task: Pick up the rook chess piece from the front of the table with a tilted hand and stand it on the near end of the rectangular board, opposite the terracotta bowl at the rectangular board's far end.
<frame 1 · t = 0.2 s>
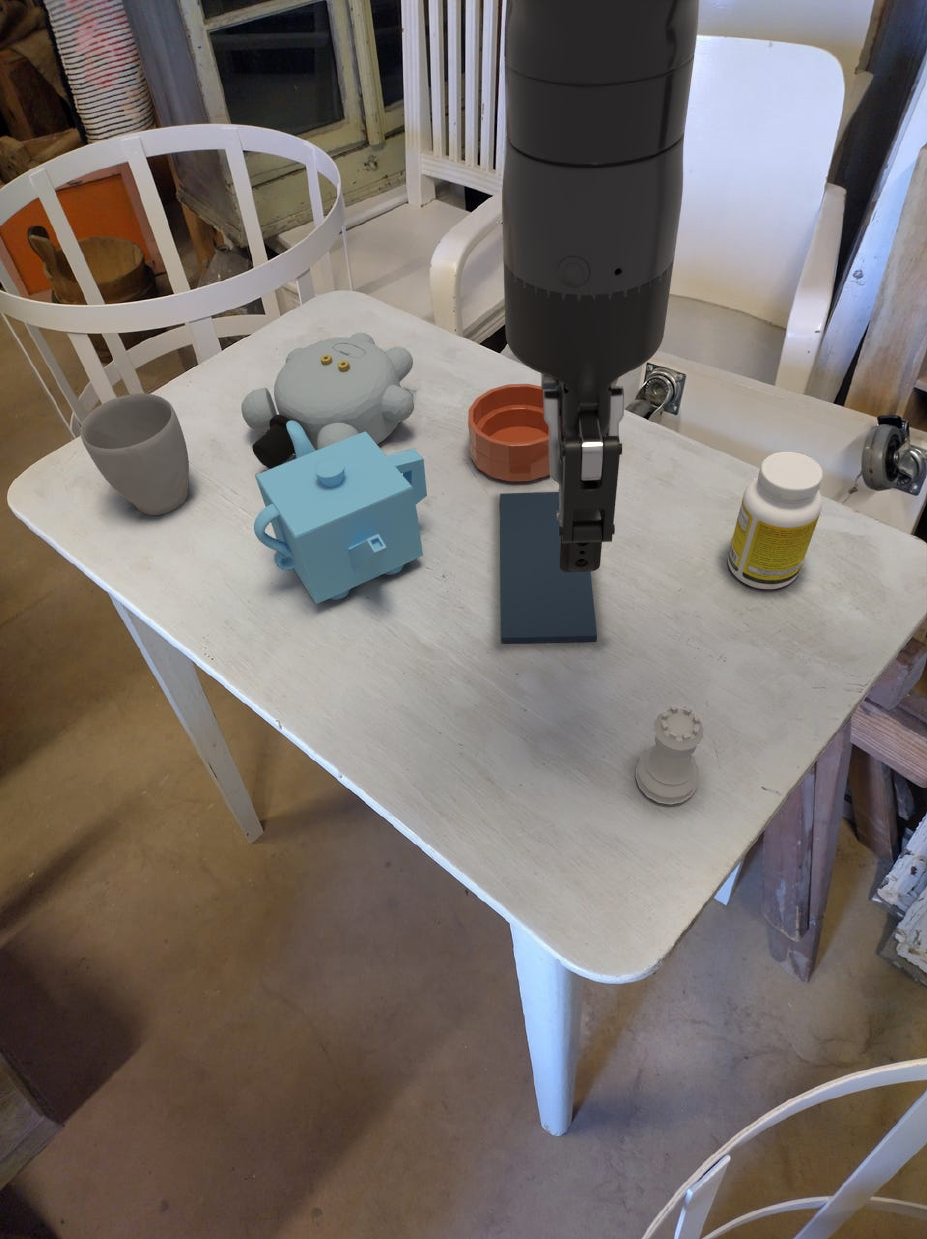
hand: (574, 514, 48), 21 cm above the table, tool pointing down, fingers open, 8 cm apart
bowl: (519, 453, 85), on the table
mug: (154, 492, 85), on the table
pill bottle: (761, 567, 73), on the table
figurine: (335, 431, 89), on the table
teapot: (352, 555, 77), on the table
rectangular board: (544, 564, 74), on the table
rook chess piece: (665, 781, 60), on the table
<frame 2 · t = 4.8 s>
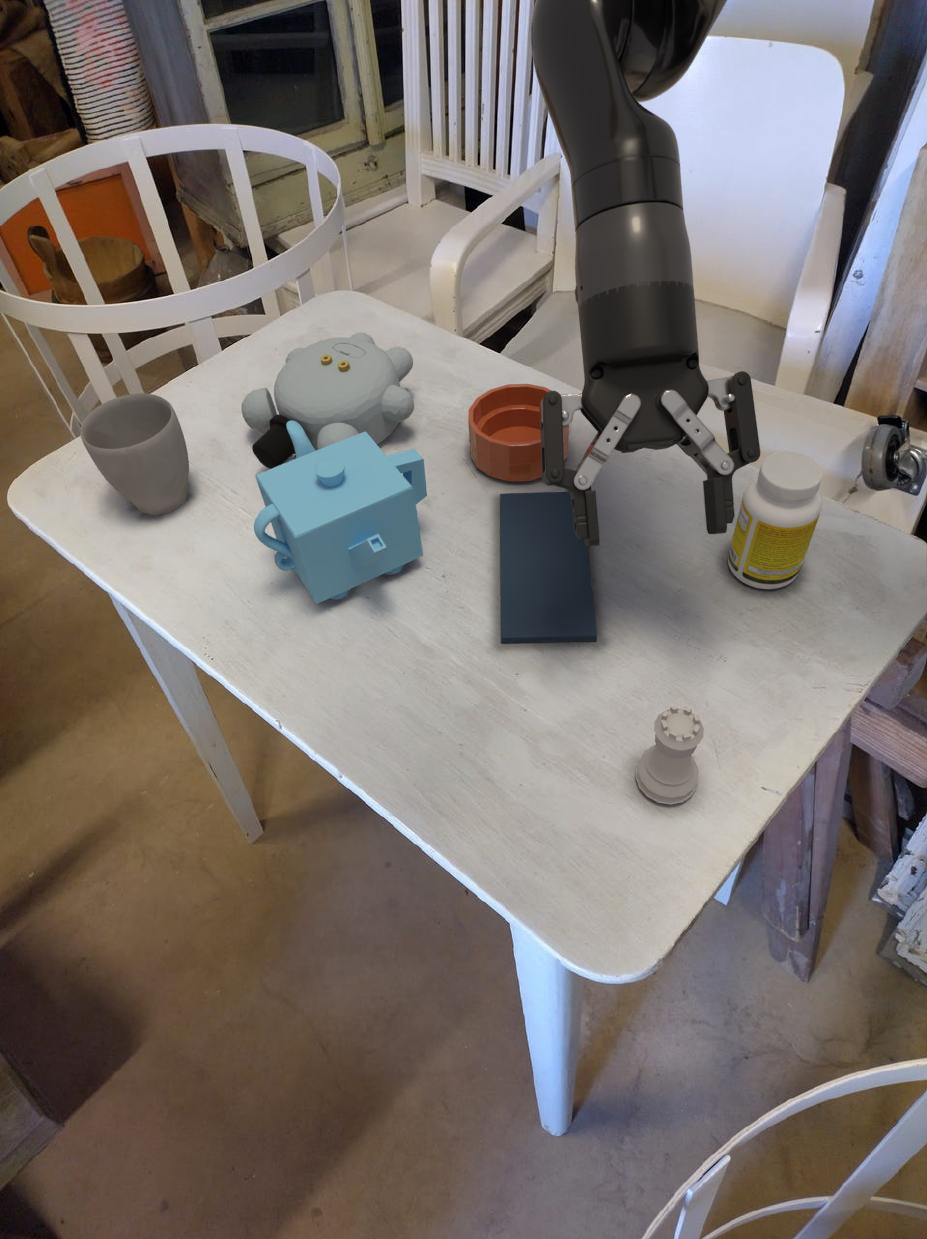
hand: (655, 540, 55), 15 cm above the table, tool tilted 45°, fingers open, 8 cm apart
nothing on the table moved.
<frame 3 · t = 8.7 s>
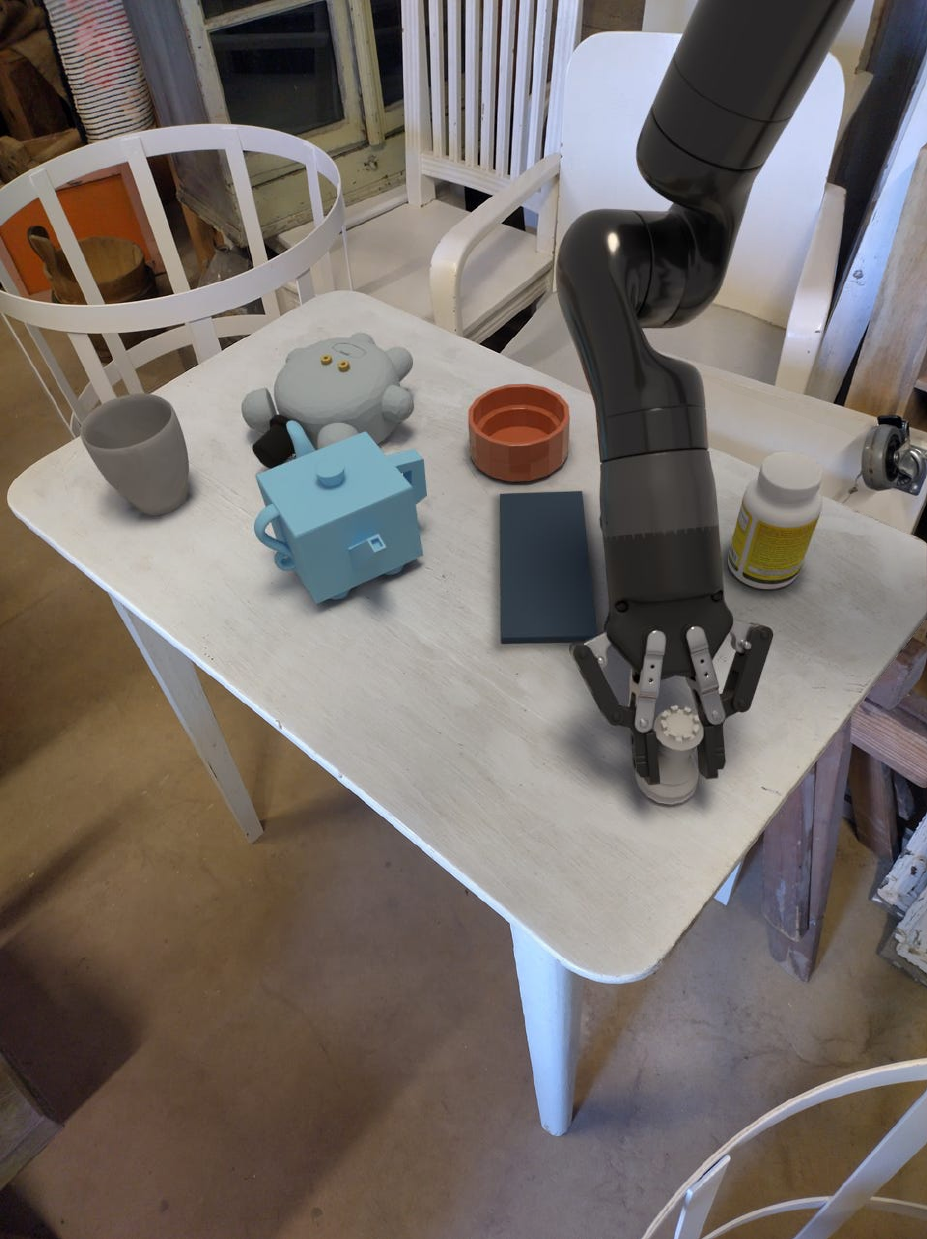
hand: (680, 777, 56), 4 cm above the table, tool tilted 45°, fingers closed on rook chess piece, 3 cm apart
rook chess piece: (665, 781, 60), on the table, touching gripper
everything else where it was.
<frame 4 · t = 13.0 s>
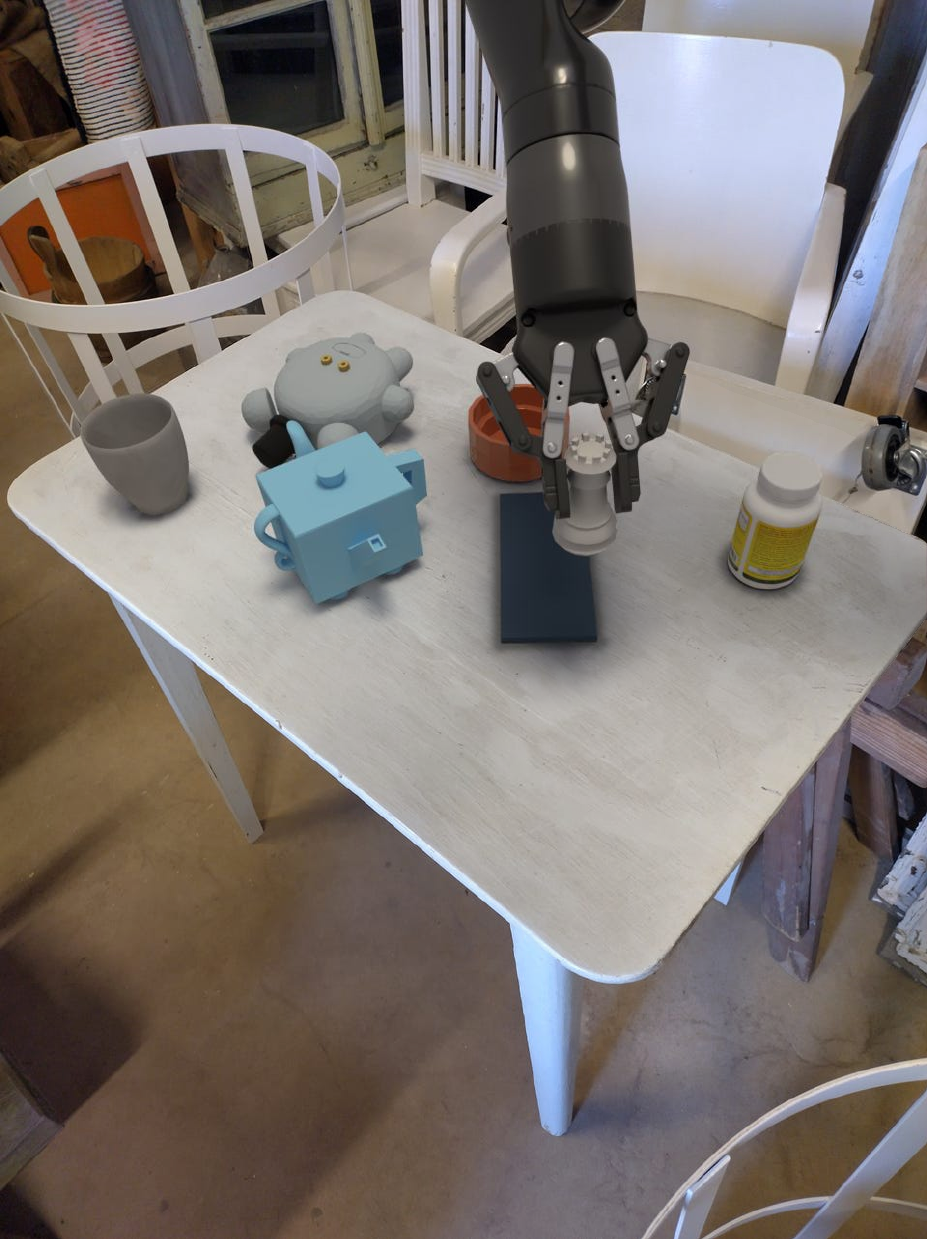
hand: (593, 514, 52), 18 cm above the table, tool tilted 45°, fingers closed on rook chess piece, 3 cm apart
rook chess piece: (584, 538, 57), point 14 cm above the table, touching gripper
everything else where it was.
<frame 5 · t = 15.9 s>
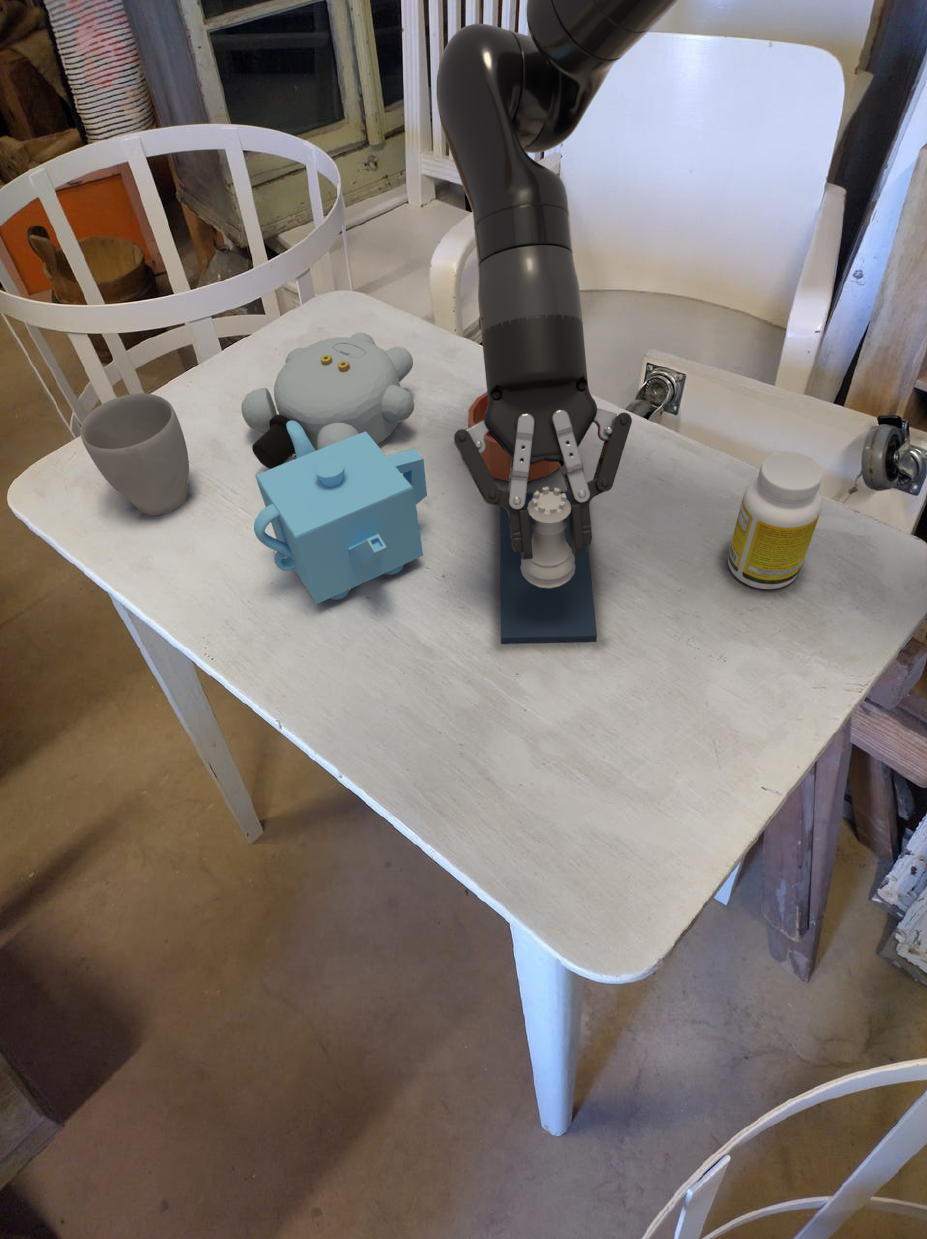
hand: (553, 555, 62), 9 cm above the table, tool tilted 45°, fingers closed on rook chess piece, 3 cm apart
rook chess piece: (547, 572, 67), point 5 cm above the table, touching gripper
everything else where it was.
when the fingers open (5 cm above the table, at t = 17.6 s): rook chess piece stays where it is, resting on rectangular board.
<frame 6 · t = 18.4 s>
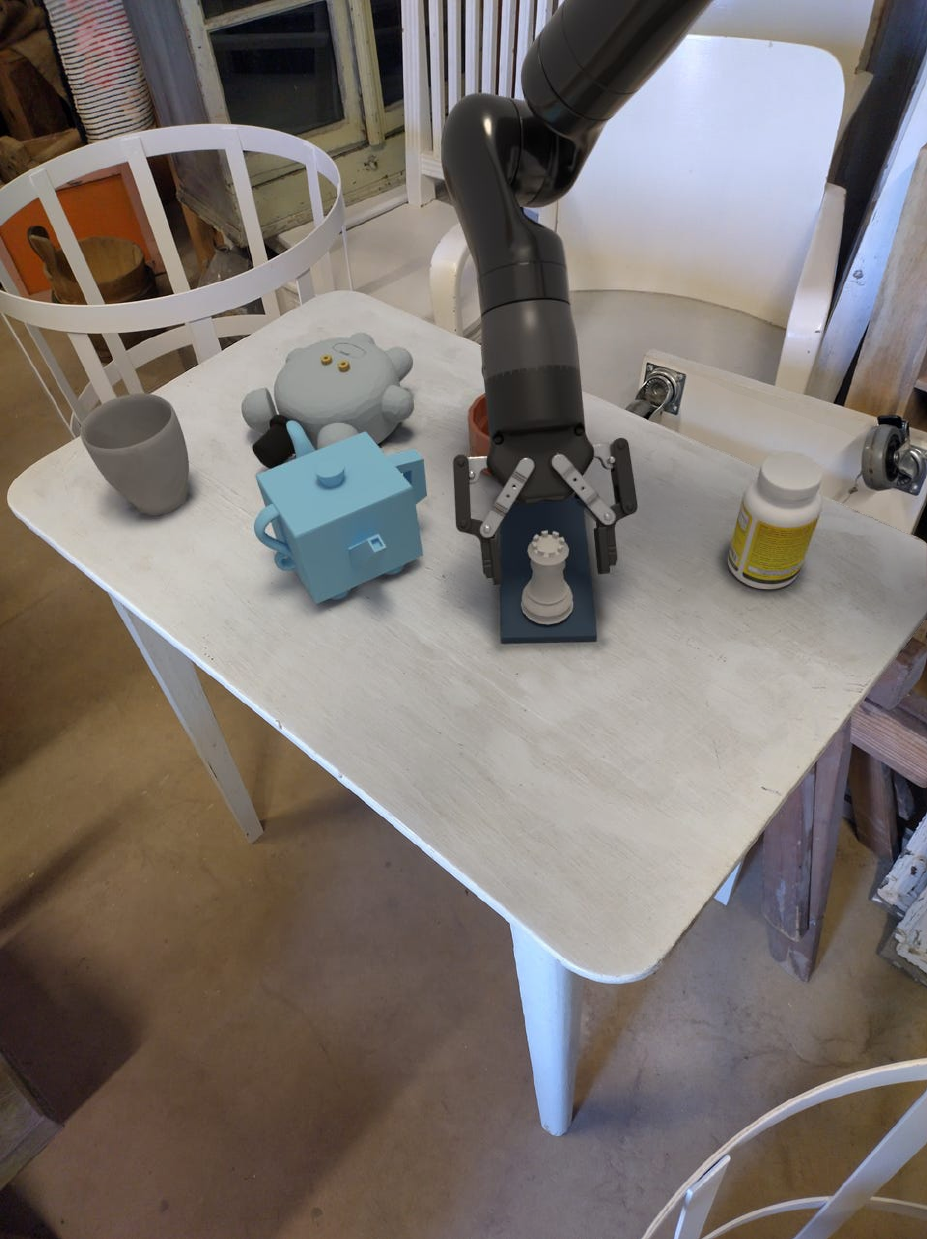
hand: (551, 579, 65), 6 cm above the table, tool tilted 45°, fingers open, 8 cm apart
rook chess piece: (547, 609, 70), point 1 cm above the table, touching rectangular board
everything else where it was.
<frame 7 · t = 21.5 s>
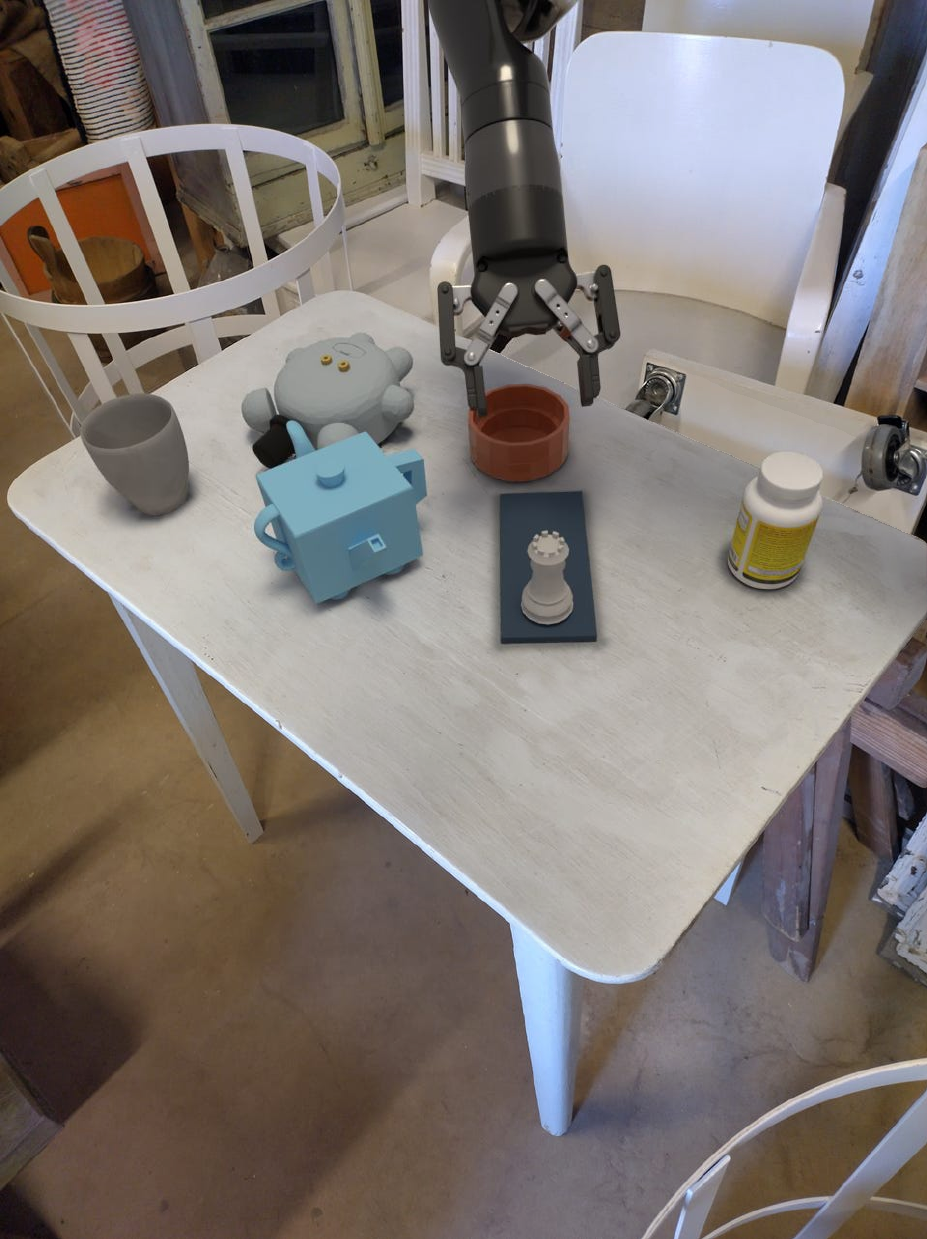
hand: (535, 410, 66), 14 cm above the table, tool tilted 45°, fingers open, 8 cm apart
nothing on the table moved.
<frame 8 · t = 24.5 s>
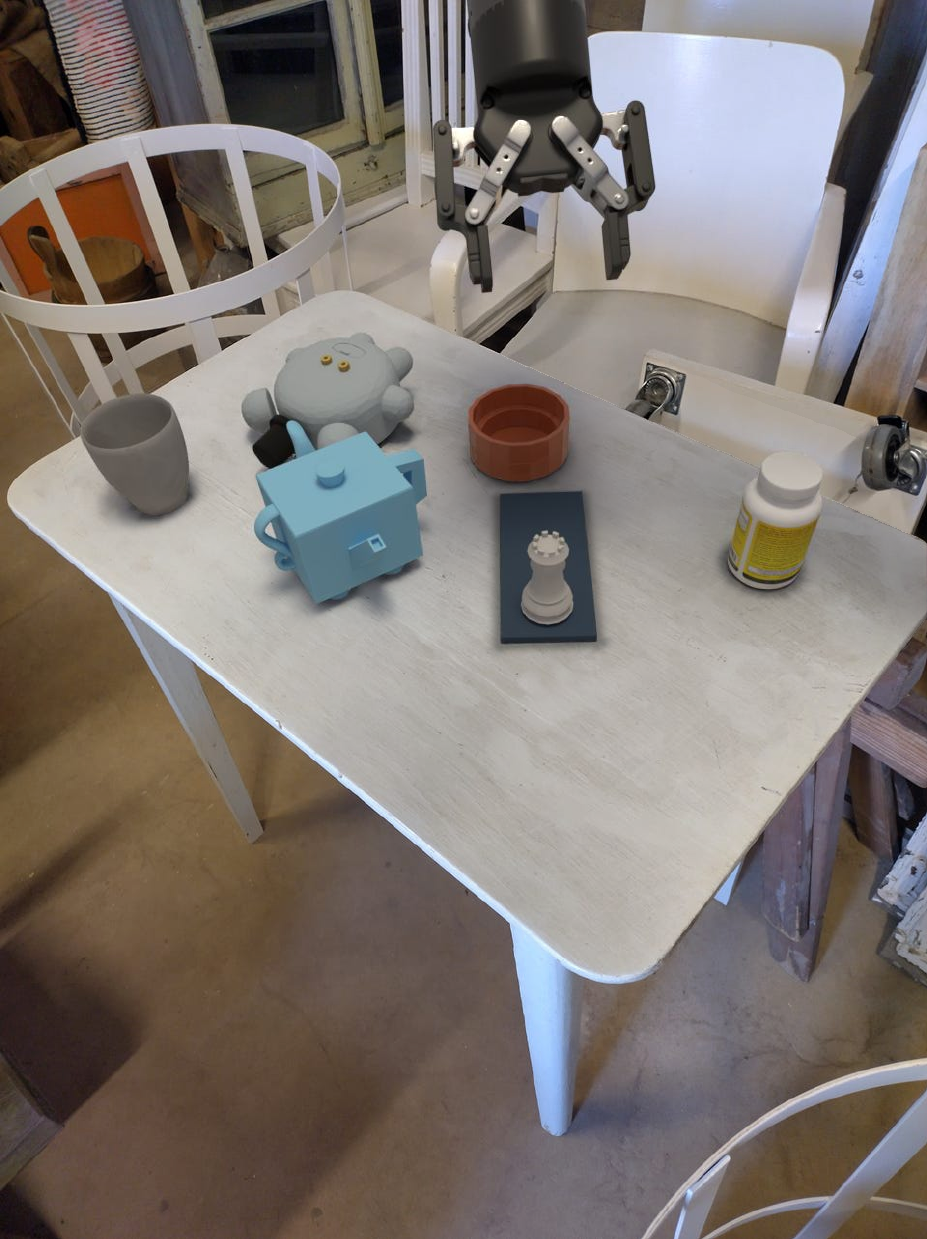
hand: (551, 283, 54), 27 cm above the table, tool tilted 45°, fingers open, 8 cm apart
nothing on the table moved.
at the end: rook chess piece inside the target area on the rectangular board (0.0 cm from its centre), point 0.6 cm above the rectangular board's base; rook chess piece inside the target area on the table beside the bowl (0.2 cm from its centre), point 0.6 cm above the table; rook chess piece tilted 0° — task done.
